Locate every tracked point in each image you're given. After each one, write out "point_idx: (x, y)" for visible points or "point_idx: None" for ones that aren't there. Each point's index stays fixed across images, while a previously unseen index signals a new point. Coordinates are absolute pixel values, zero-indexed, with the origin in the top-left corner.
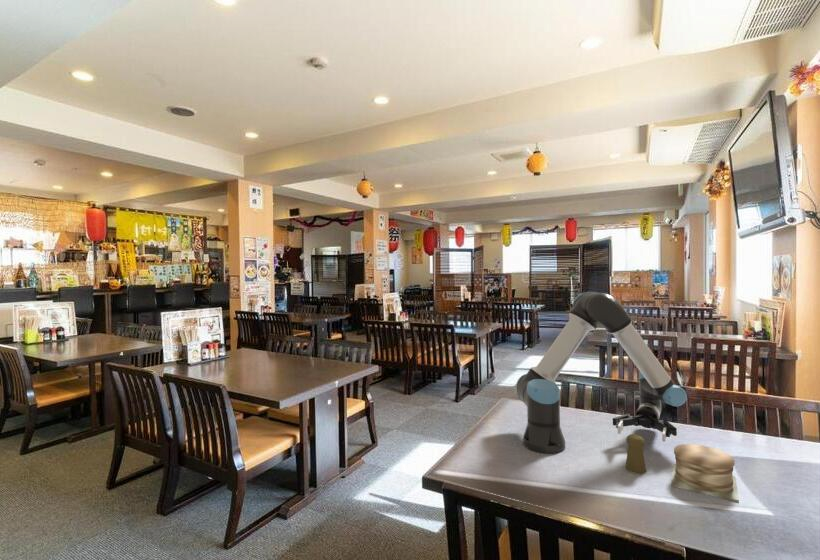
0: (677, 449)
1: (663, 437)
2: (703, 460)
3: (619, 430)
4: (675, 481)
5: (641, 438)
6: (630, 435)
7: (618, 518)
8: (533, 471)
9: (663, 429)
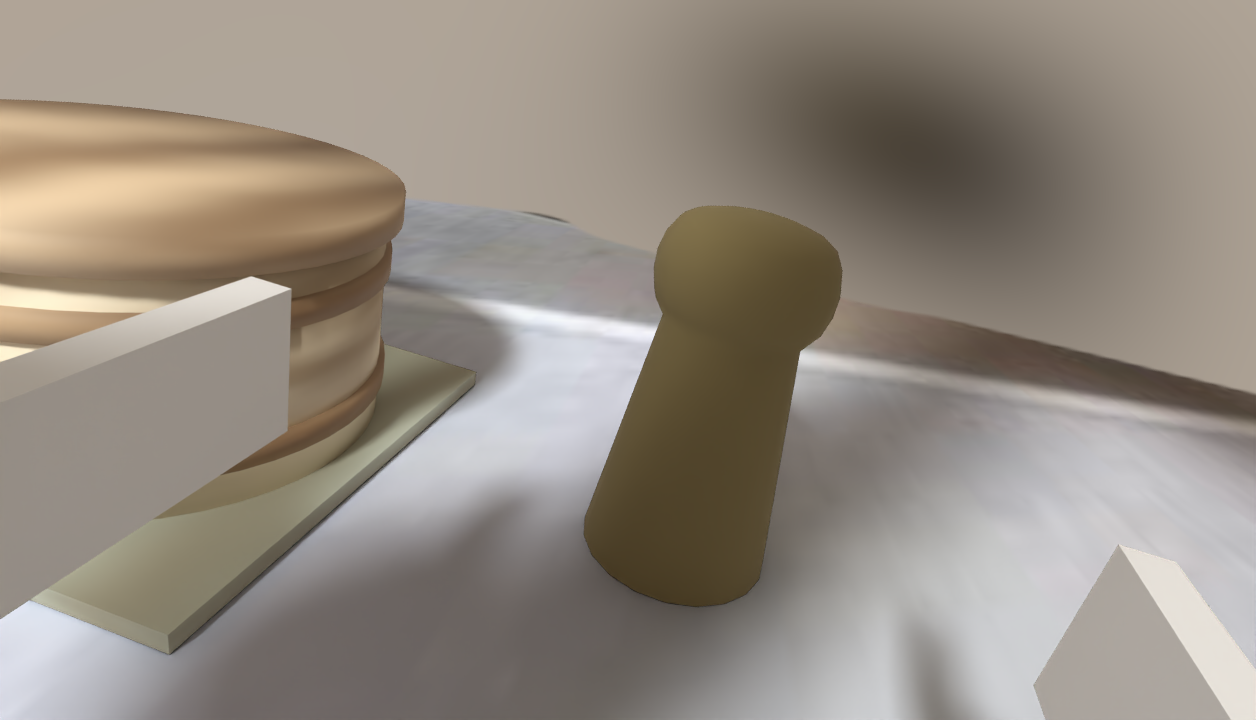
0: (344, 208)
1: (272, 355)
2: (256, 142)
3: (1082, 630)
4: (422, 388)
5: (699, 207)
6: (814, 236)
7: None
8: (1246, 486)
9: (38, 383)
